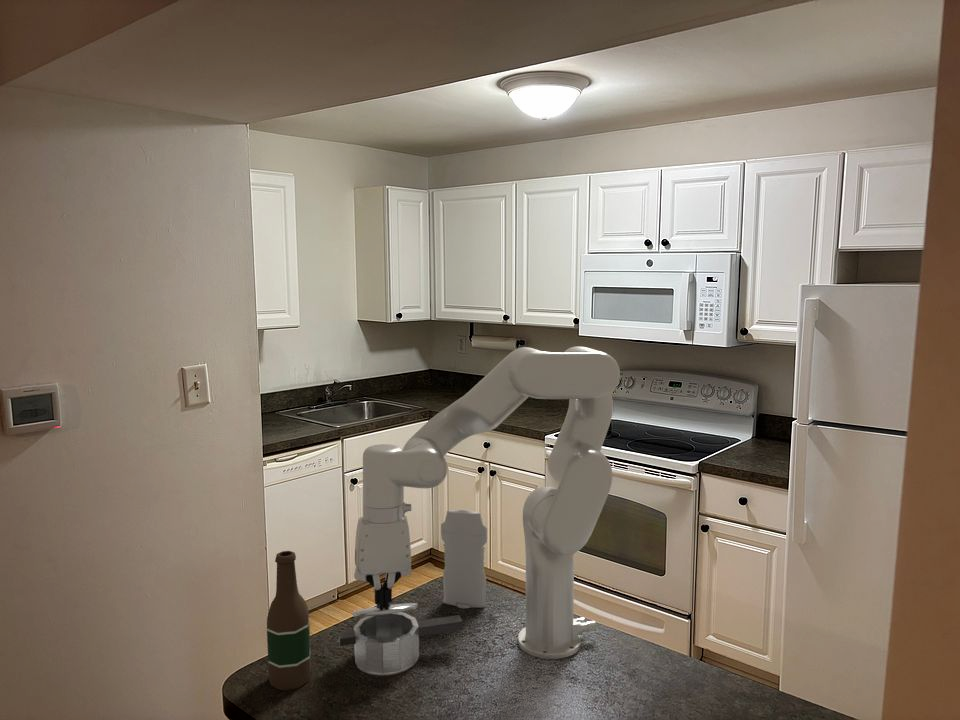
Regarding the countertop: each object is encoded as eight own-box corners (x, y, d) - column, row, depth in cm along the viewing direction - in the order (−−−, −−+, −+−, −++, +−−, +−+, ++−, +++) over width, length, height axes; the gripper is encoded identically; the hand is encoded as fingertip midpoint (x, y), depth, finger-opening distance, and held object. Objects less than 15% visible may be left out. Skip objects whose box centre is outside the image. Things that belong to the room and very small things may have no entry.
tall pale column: (489, 602, 156) (489, 508, 154) (485, 611, 152) (484, 514, 150) (444, 597, 159) (443, 505, 156) (439, 606, 155) (437, 511, 152)
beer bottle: (300, 694, 122) (295, 563, 119) (260, 689, 124) (254, 560, 121) (319, 669, 130) (314, 546, 127) (281, 665, 131) (275, 543, 129)
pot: (453, 629, 144) (452, 600, 143) (469, 662, 132) (468, 630, 131) (337, 647, 138) (336, 616, 137) (342, 683, 125) (341, 649, 125)
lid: (412, 605, 140) (411, 591, 141) (422, 609, 129) (421, 593, 130) (350, 614, 137) (349, 599, 138) (355, 618, 126) (354, 602, 126)
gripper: (419, 502, 134) (418, 593, 136) (340, 508, 130) (341, 602, 132) (427, 515, 127) (426, 611, 129) (344, 522, 122) (344, 620, 124)
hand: (383, 606), depth 130 cm, fingers closed
